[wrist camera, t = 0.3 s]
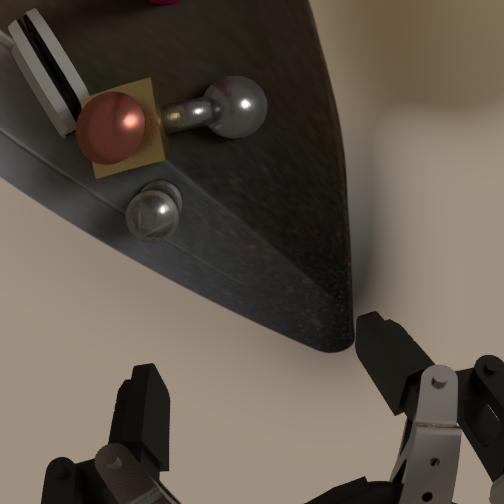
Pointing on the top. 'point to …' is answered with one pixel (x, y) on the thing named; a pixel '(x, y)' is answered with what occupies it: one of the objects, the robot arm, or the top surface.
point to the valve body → (161, 121)
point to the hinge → (48, 71)
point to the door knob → (155, 212)
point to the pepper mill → (164, 1)
